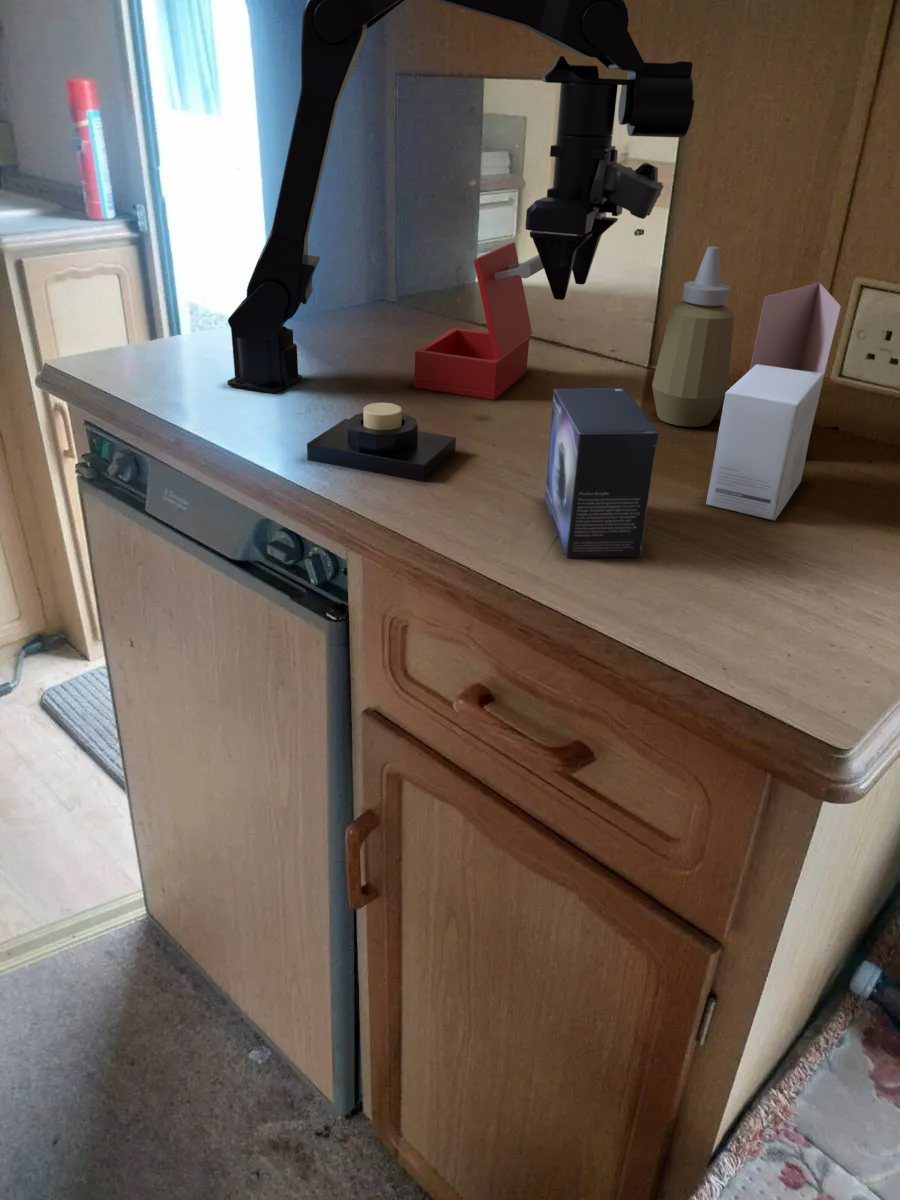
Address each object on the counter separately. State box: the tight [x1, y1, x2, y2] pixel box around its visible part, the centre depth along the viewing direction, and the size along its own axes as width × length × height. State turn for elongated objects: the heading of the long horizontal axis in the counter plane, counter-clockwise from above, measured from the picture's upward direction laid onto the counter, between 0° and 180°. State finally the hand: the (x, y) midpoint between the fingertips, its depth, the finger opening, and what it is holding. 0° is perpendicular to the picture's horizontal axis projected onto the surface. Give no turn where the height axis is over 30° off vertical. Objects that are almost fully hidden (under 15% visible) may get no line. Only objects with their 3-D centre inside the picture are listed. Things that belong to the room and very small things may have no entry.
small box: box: [544, 387, 660, 558], centre depth 73 cm, size 11×6×10 cm, turn 5°
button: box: [362, 402, 403, 430], centre depth 86 cm, size 4×4×2 cm
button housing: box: [306, 412, 457, 483], centre depth 87 cm, size 12×8×4 cm, turn 69°
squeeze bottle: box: [651, 246, 735, 428], centre depth 96 cm, size 8×8×18 cm
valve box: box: [413, 327, 530, 401], centre depth 110 cm, size 10×13×4 cm
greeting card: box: [749, 282, 842, 375], centre depth 92 cm, size 11×7×15 cm, turn 135°
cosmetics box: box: [705, 364, 825, 521], centre depth 81 cm, size 10×6×10 cm, turn 150°
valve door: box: [473, 241, 544, 359], centre depth 104 cm, size 11×13×5 cm
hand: (570, 291), depth 102 cm, fingers open, 9 cm apart
